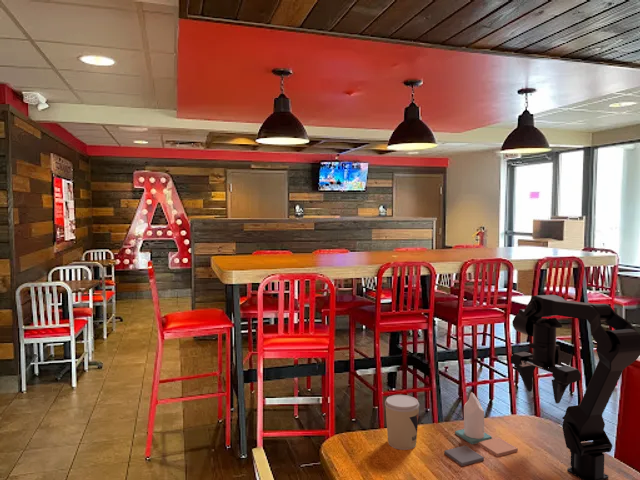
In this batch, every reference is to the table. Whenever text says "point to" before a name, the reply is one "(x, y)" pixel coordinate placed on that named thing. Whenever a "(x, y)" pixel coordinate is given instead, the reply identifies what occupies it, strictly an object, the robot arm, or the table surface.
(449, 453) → the charcoal tile
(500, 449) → the terracotta tile
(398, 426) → the coffee cup
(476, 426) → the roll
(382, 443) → the table surface
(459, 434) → the teal tile
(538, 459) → the table surface
